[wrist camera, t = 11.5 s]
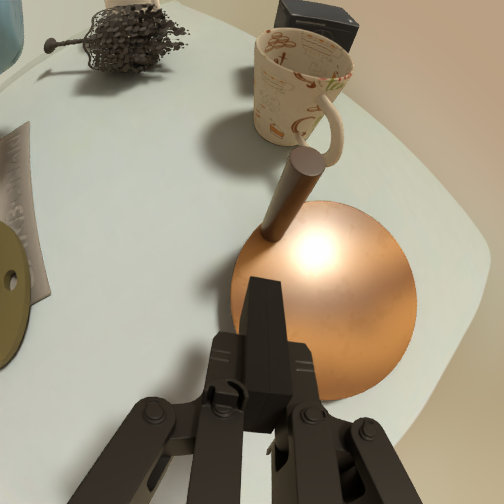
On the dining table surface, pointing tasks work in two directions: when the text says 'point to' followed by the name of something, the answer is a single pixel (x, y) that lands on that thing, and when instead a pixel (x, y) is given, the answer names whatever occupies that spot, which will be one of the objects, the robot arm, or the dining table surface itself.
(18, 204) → the nameplate
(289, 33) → the mug
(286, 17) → the box
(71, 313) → the dining table surface
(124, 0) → the cup
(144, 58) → the massage brush
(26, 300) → the flange
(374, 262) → the wooden disc with post
